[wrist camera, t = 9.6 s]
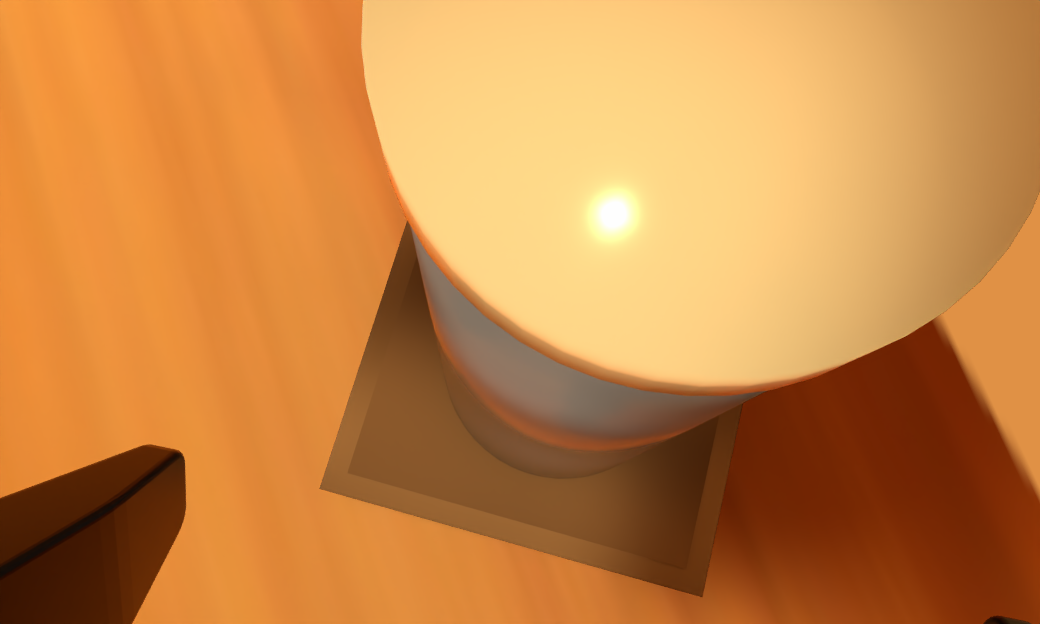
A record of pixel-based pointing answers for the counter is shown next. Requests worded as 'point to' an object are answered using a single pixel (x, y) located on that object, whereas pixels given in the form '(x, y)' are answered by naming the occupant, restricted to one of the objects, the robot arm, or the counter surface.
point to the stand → (505, 490)
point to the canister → (691, 196)
